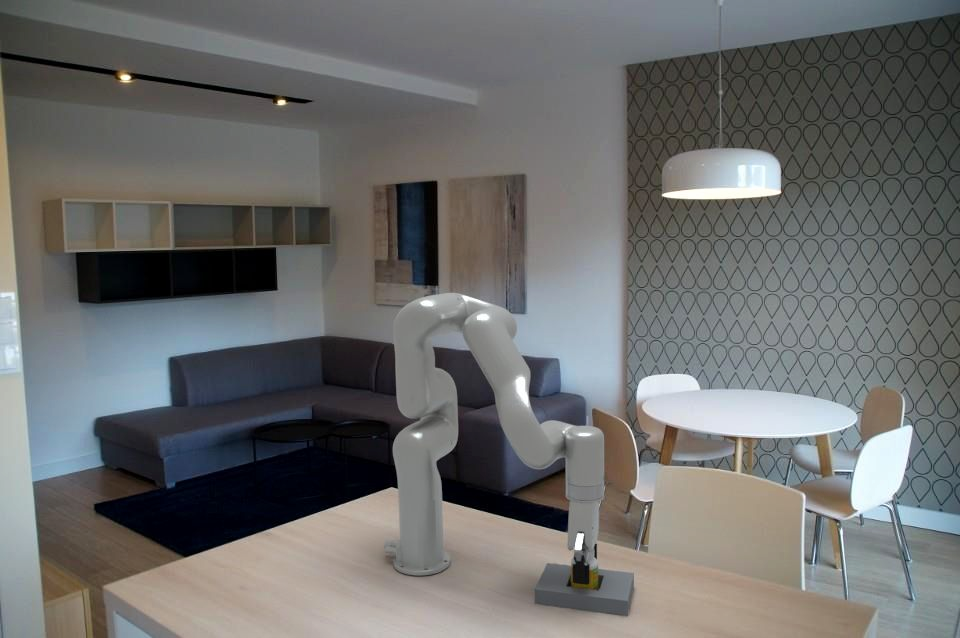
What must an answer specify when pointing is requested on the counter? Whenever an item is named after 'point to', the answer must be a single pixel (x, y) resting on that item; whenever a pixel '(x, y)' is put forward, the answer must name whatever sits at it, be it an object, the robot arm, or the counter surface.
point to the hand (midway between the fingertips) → (585, 572)
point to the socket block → (585, 591)
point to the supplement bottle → (593, 573)
